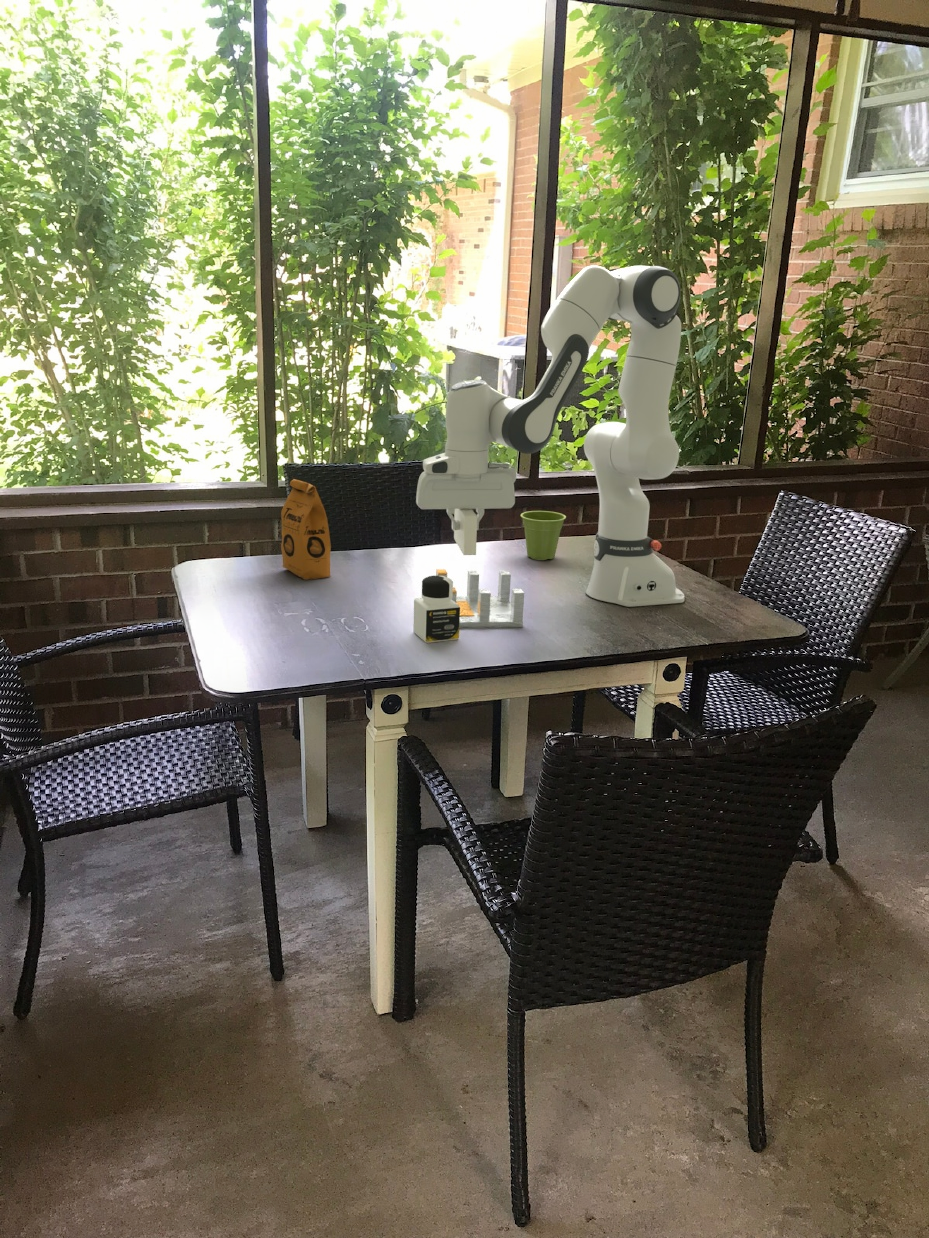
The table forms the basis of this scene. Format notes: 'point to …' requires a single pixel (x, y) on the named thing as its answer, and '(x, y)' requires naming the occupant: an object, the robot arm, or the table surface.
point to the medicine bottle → (436, 611)
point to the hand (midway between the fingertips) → (464, 529)
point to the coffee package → (305, 533)
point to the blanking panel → (466, 531)
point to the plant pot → (542, 533)
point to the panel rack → (489, 603)
